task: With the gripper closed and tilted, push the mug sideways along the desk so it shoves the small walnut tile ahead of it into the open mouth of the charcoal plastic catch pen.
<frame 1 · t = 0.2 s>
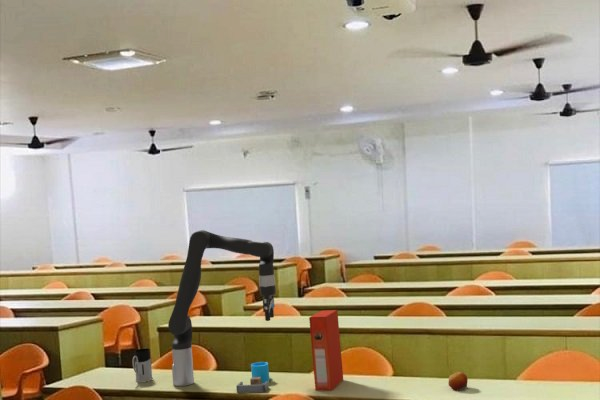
hand: (269, 319, 305), 29 cm above the table, tool pointing down, fingers open, 8 cm apart
grey handled cylinder: (141, 381, 323), on the table
fruit: (458, 389, 270), on the table
tile: (256, 386, 297), on the table
mug: (262, 380, 308), on the table
catch pen: (252, 390, 292), on the table
file binder: (329, 385, 291), on the table
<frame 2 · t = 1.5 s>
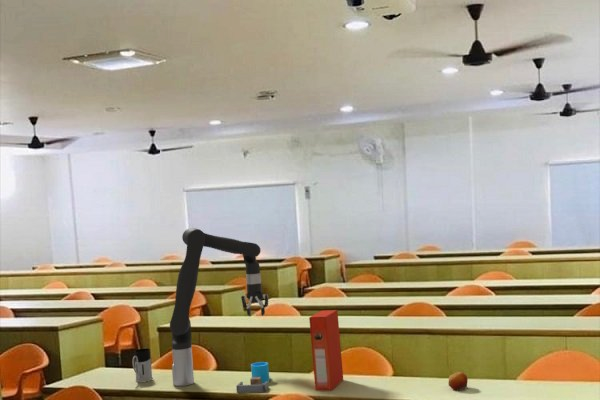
hand: (256, 315, 328), 28 cm above the table, tool pointing down, fingers open, 6 cm apart
nothing on the table moved.
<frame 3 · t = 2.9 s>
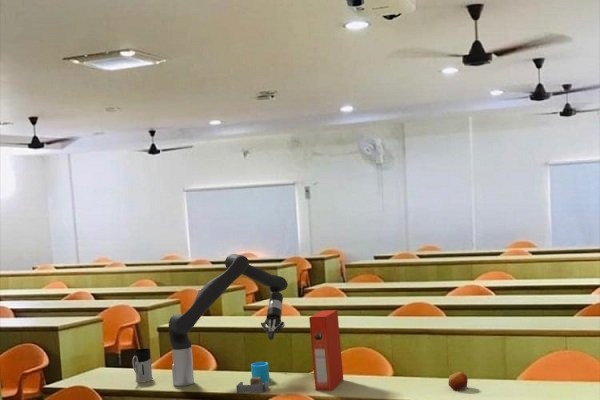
hand: (270, 339, 328), 15 cm above the table, tool tilted 45°, fingers closed
nothing on the table moved.
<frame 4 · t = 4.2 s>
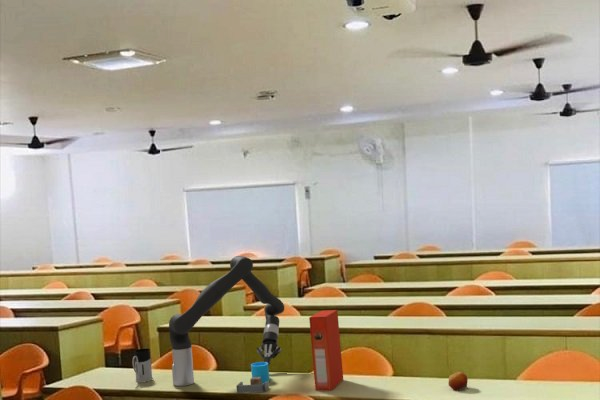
hand: (266, 365, 318), 5 cm above the table, tool tilted 45°, fingers closed
nothing on the table moved.
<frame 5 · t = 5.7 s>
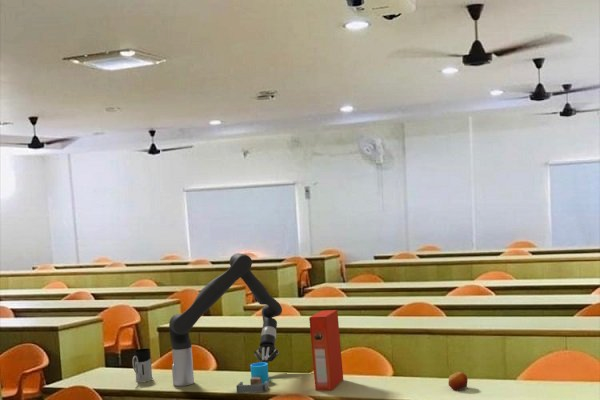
hand: (264, 368, 313), 4 cm above the table, tool tilted 45°, fingers closed
mug: (261, 381, 307), on the table, touching gripper
everything else where it was.
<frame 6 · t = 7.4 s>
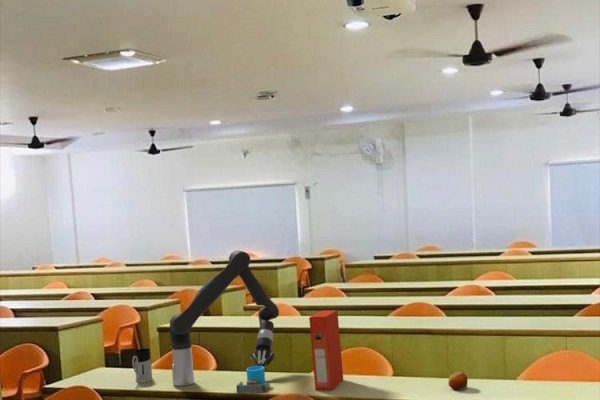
hand: (260, 372, 306), 4 cm above the table, tool tilted 45°, fingers closed
tile: (252, 389, 292), on the table, touching mug
mug: (258, 385, 300), on the table, touching gripper, tile
everything else where it was.
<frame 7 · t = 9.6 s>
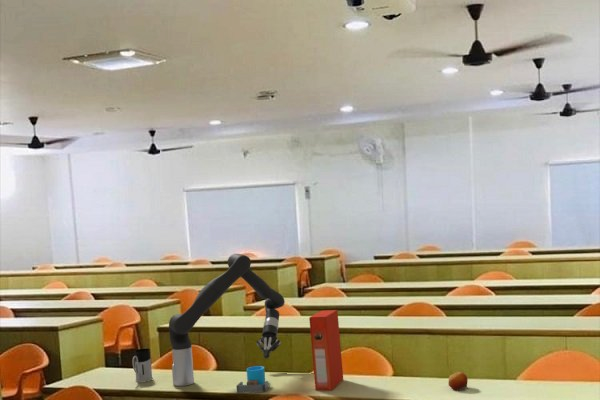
hand: (266, 357, 320), 8 cm above the table, tool tilted 45°, fingers closed
tile: (252, 390, 292), on the table
mug: (258, 385, 300), on the table
everything else where it was.
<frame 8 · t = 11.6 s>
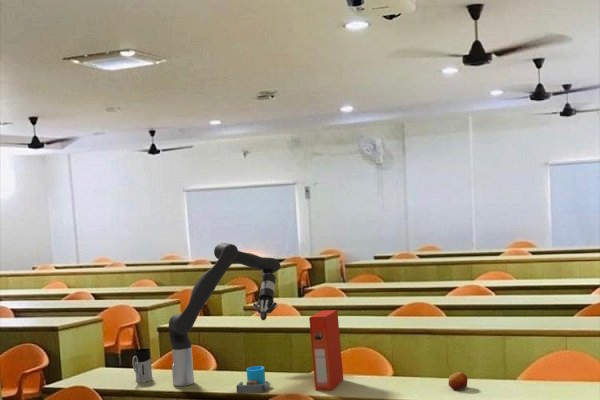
hand: (263, 319, 325), 26 cm above the table, tool tilted 45°, fingers closed
nothing on the table moved.
at the end: tile inside the target area (0.3 cm from its centre), on the table; mug tilted 0°; mug moved 8.2 cm from its start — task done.
